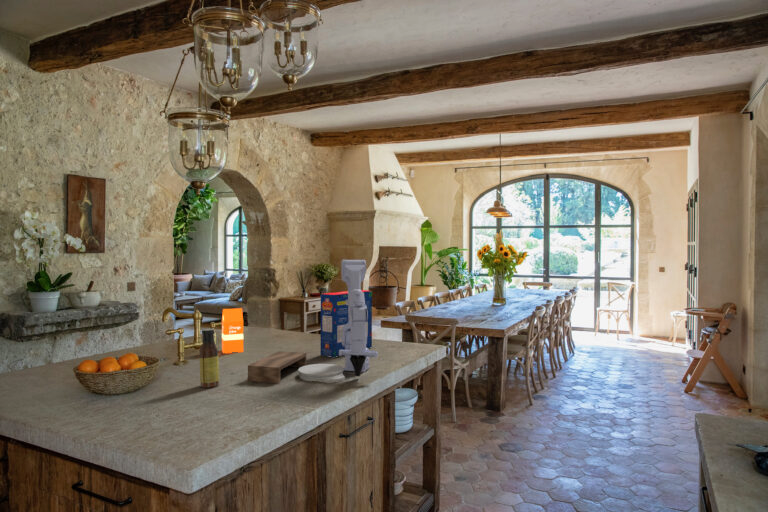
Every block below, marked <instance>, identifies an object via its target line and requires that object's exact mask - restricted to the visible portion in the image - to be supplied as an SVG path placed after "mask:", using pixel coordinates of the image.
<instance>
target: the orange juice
mask: <svg viewBox="0 0 768 512" xmlns="http://www.w3.org/2000/svg"><path fill="white" fill-rule="evenodd" d="M221 351H222V353H223V354H224V353H225V354H233V353H232V352H238V353H244V317H243V308H242V307H240V308H222V316H221Z"/></svg>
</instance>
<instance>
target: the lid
mask: <svg viewBox="0 0 768 512" xmlns="http://www.w3.org/2000/svg"><path fill="white" fill-rule="evenodd" d="M343 368H344V367H343V366H341V365H340V364H339V365H338V364H334V363H333V364H332V363H313V364H306V366H303V367H298V369H297V372H298V377H300V378H301V380H302V379H303V380H302V381H306V382H312V381H319V383H324V382H325V384H334V382H336V383H340V381H341V382H343V381H345V380H346V376H345V375H344V374H343V373H344V369H343ZM300 378H299V379H300ZM344 379H345V380H344Z"/></svg>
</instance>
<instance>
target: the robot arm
mask: <svg viewBox="0 0 768 512" xmlns="http://www.w3.org/2000/svg"><path fill="white" fill-rule="evenodd" d="M340 263H341V265H340V267H341V268H340V269H341V281H342V282H344V283H346V287H347V291H348V320H349V322H348V323H347V324H346V325H344V326H343V328H342V345H343V346H345V350H339V356H340V357H343V356H344V367H343V369H344V371H345V372H347V371H348V372H354V374H355V377H360V376H361V375H362V373H363V372H366V371H367V370H369V369H370V358H374V359H376V358H378V357H379V352H378V351H375V350H370V348H369V349H368V348H366V344H367V332H366V322H367V319H368V311H367V307H366V305H365V298H364V293H363V292H362V291H361V290H362V289H361V287H362V282H363V281H364V280H365V278H366V273H367V261H366V260H365V259H342V260H341V262H340ZM365 319H366V322H365ZM347 330H351V331H347ZM342 355H343V356H342ZM344 371H343V372H344Z"/></svg>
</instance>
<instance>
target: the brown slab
mask: <svg viewBox="0 0 768 512" xmlns="http://www.w3.org/2000/svg"><path fill="white" fill-rule="evenodd" d="M306 365H307V352H298V351H279V350H278V351H276V352H274V353H272V354H270V355H268V356H266V357H264V358H261V359H259V360H257V361H254V362H253V363H250V364H248V365H247V382H252V381H257V382H256V383H265V382H269V383H270V384H280V383H281V370H283V369H284V368H286V367H288V366H296V367H295V368H300V367H303V366H306Z"/></svg>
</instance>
